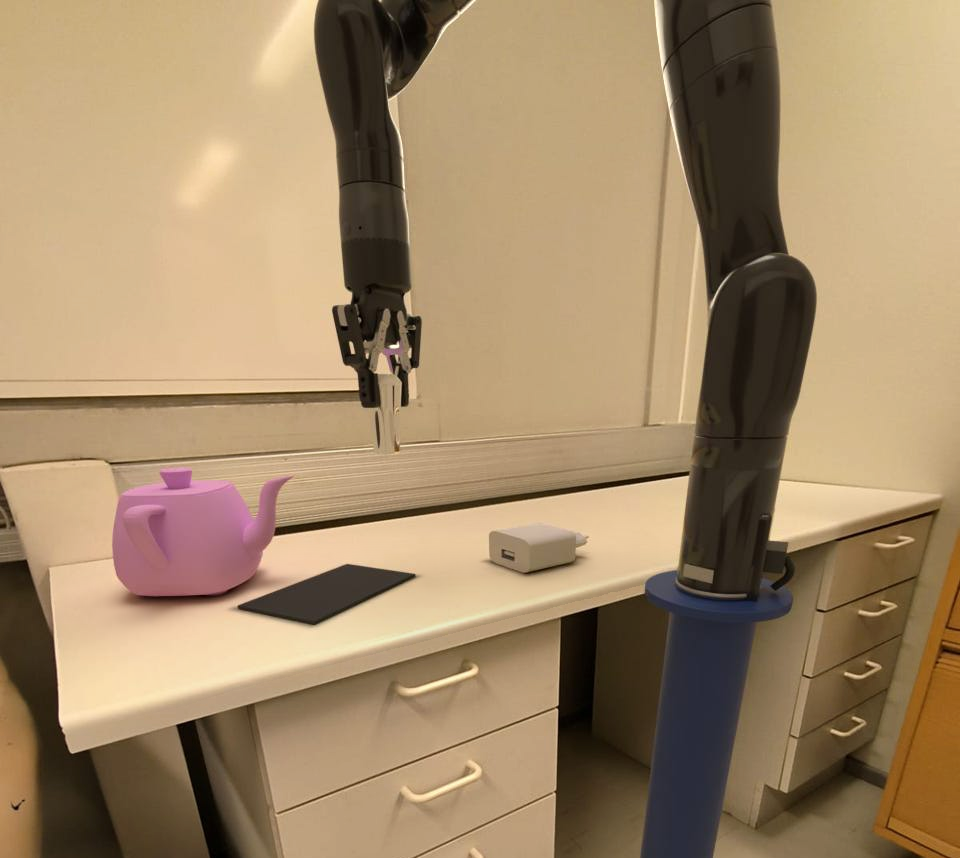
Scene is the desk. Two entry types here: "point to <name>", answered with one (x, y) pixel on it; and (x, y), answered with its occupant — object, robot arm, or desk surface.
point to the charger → (534, 546)
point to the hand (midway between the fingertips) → (386, 406)
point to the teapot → (190, 535)
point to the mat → (326, 593)
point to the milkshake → (387, 415)
